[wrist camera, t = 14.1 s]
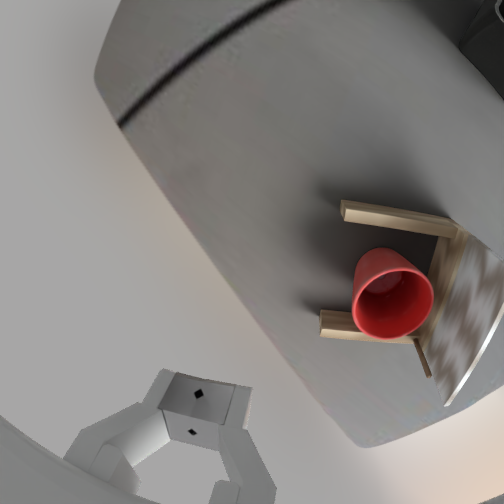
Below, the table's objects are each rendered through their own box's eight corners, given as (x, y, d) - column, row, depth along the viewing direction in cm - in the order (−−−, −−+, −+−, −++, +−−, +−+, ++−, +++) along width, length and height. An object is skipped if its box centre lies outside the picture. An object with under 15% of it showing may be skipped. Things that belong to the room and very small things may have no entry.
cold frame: (341, 199, 38) (367, 252, 22) (451, 218, 36) (519, 274, 20) (319, 316, 46) (320, 406, 29) (416, 325, 44) (448, 405, 27)
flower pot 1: (383, 312, 44) (397, 352, 35) (330, 281, 43) (335, 319, 34) (425, 261, 39) (449, 294, 30) (371, 223, 39) (389, 250, 30)
